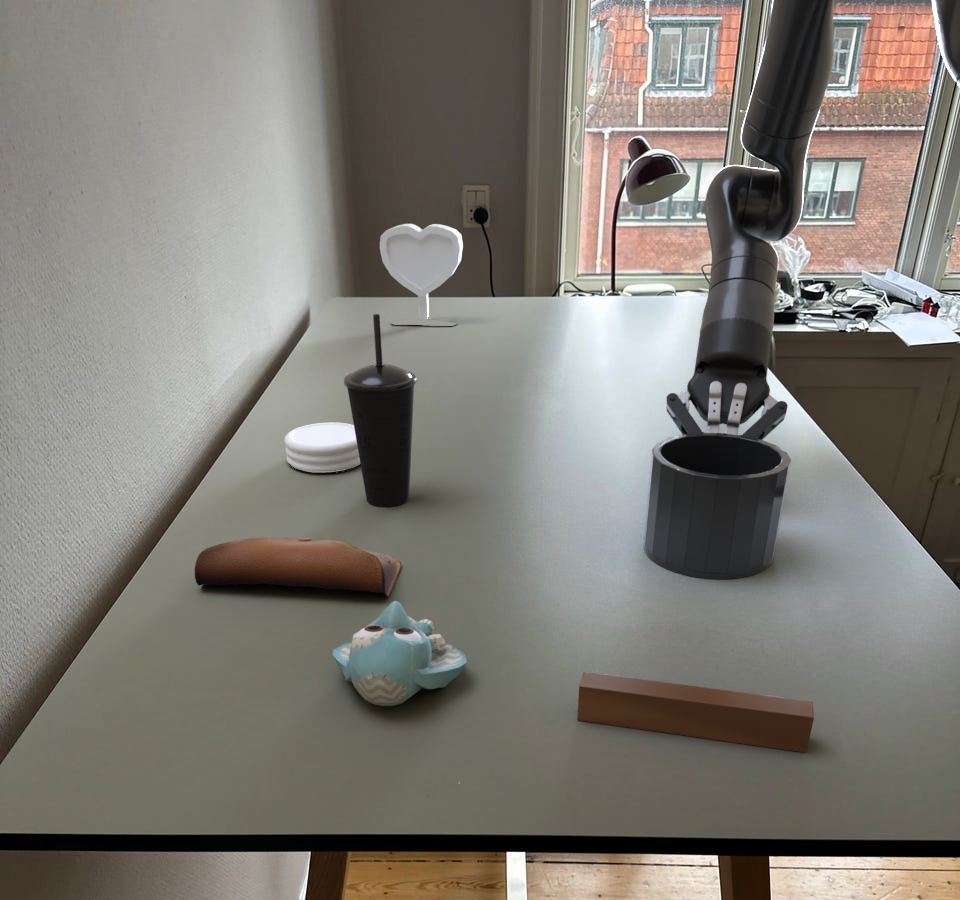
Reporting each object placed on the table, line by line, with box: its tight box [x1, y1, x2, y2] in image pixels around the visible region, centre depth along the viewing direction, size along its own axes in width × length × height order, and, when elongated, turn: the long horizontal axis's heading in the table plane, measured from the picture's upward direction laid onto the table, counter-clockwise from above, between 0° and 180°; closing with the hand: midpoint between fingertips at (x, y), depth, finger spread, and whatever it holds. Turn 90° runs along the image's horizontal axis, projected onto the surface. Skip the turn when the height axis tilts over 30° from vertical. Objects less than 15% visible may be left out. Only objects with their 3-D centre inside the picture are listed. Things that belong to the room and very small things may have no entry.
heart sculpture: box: [379, 223, 464, 319], centre depth 178 cm, size 16×5×18 cm, turn 81°
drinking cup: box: [343, 313, 417, 508], centre depth 99 cm, size 8×8×20 cm
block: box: [576, 671, 815, 754], centre depth 65 cm, size 2×16×3 cm, turn 76°
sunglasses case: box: [194, 536, 402, 597], centre depth 86 cm, size 18×7×7 cm
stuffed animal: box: [332, 600, 468, 707], centre depth 71 cm, size 11×7×12 cm
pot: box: [643, 432, 792, 580], centre depth 89 cm, size 13×13×10 cm
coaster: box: [284, 421, 361, 471], centre depth 114 cm, size 10×10×4 cm
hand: (715, 484), depth 95 cm, fingers closed
